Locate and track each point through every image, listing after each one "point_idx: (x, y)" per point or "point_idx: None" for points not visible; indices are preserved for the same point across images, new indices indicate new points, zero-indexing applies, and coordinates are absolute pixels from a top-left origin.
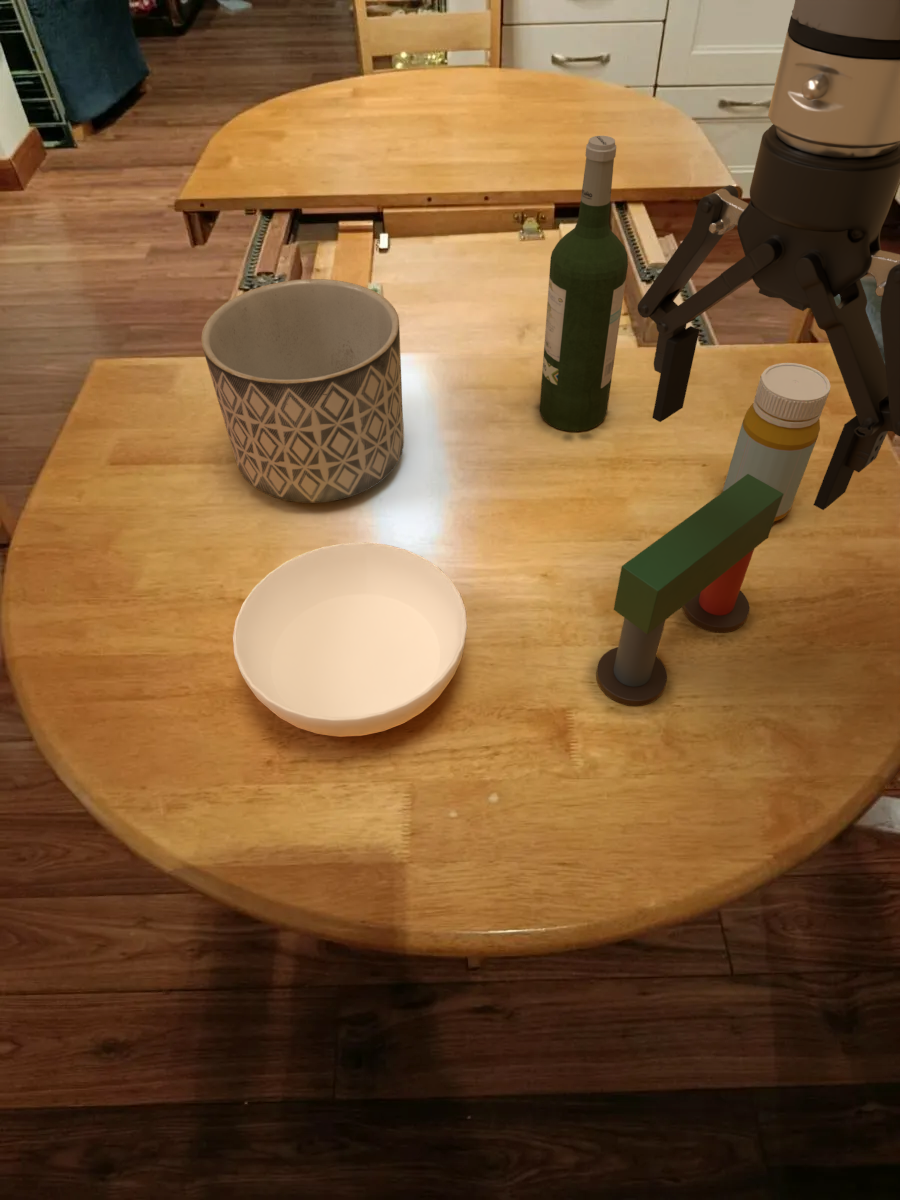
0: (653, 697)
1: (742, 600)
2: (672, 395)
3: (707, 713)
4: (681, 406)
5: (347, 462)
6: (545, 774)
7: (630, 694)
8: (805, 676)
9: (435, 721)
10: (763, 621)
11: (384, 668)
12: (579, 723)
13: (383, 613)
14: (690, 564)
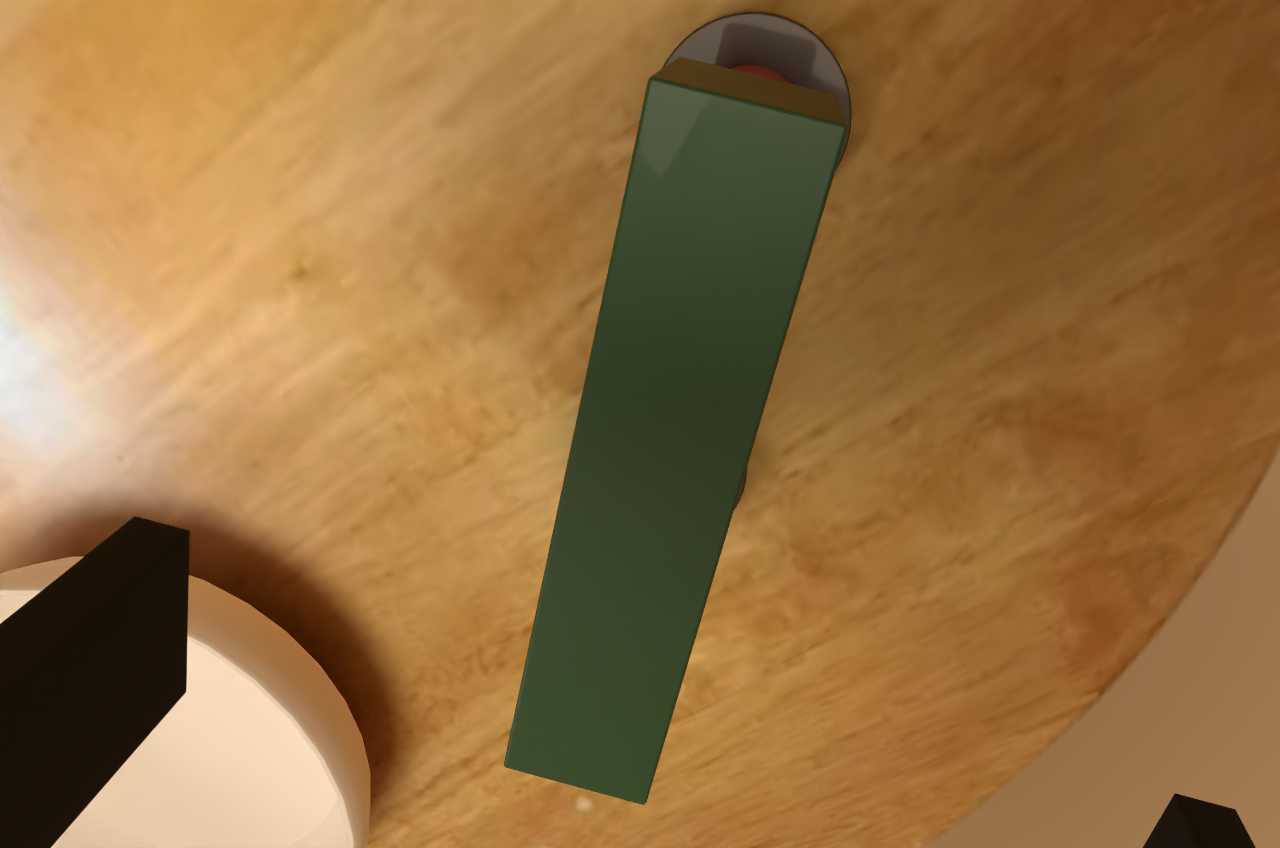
0: (736, 505)
1: (815, 62)
2: (98, 729)
3: (864, 459)
4: (180, 552)
5: None
6: None
7: None
8: (1067, 218)
9: (396, 729)
10: (898, 80)
11: (235, 695)
12: None
13: None
14: (679, 678)
